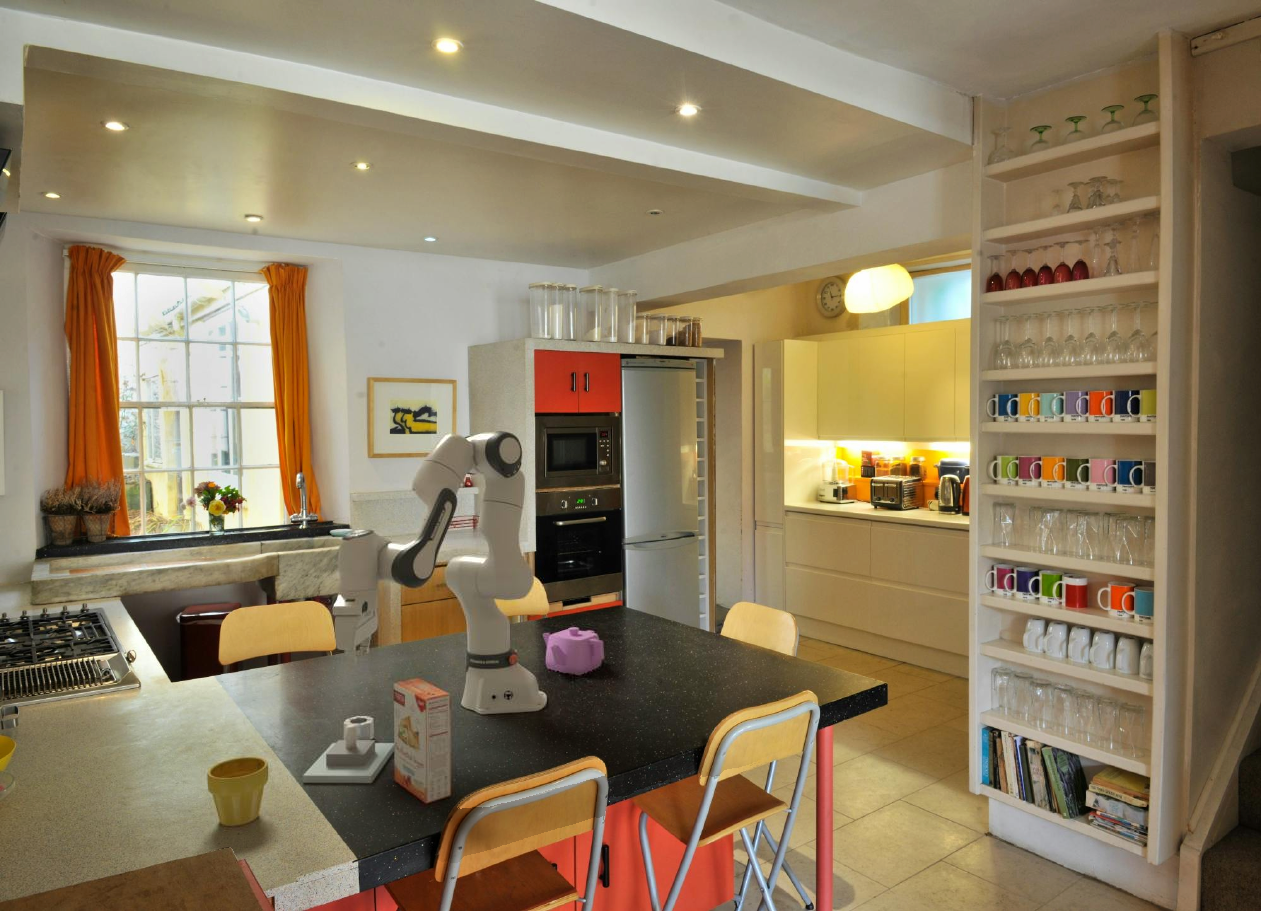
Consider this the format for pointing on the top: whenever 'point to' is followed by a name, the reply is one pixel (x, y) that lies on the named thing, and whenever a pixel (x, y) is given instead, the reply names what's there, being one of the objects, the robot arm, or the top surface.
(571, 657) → the teakettle
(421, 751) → the cracker box
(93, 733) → the top surface
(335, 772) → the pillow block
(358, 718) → the ring
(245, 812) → the plant pot
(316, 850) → the top surface
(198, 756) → the top surface
